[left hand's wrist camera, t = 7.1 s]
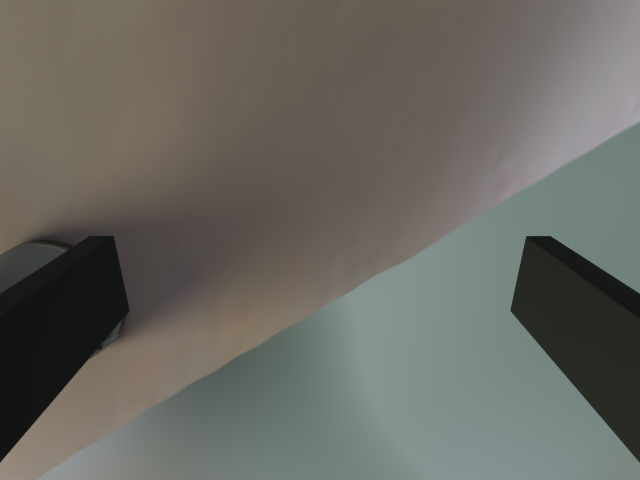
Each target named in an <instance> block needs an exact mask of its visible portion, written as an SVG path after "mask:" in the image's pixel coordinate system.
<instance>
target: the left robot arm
mask: <svg viewBox="0 0 640 480" xmlns="http://www.w3.org/2000/svg"><path fill="white" fill-rule="evenodd" d="M129 311H130V310H129V306H128V301H127V296H126V292H125V287H124V282H123V278H122V273H121V268H120V264H119V259H118V254H117V250H116V245H115V240H114V236H89V237H88V238H86V239H84V240H83V241H81V242H80V243H78V244H77V245H75V246H74V247H72V246H70V245H67V244H63V243H59V242H52V241H34V242H28V243H24V244H21V245H19V246H17V247H15V248H13V249H11V250H9V251H7V252H5V253H3V254H2V255H0V462H1V461H2V460H3V459H4V457H5V456H6V455H7V454H8V453H9V452H10V450H11V449H12V448H13V447H14V446H15V445H16V443H17V442H18V441H19V440H20V439H21V437H22V436H23V435H24V434H25V433H26V432H27V430H28V429H29V428H30V427H31V426H32V425H33V423H34V422H35V421H36V420H37V419H38V418H39V416H40V415H41V414H42V413H43V412H44V411H45V409H46V408H47V407H48V406H49V405H50V404H51V402H52V401H53V400H54V399H55V398H56V396H57V395H58V394H59V393H60V392H61V391H62V389H63V388H64V387H65V386H66V385H67V384H68V382H69V381H70V380H71V379H72V378H73V377H74V375H75V374H76V373H77V372H78V371H79V370H80V368H81V367H82V366H83V365H84V364H85V362H86V361H87V360H88V359H90V358H92V357H93V356H95V355H97V354H98V353H100V352H101V351H102V350H103V349H105V348H106V347H107V346H108V345H109V344H110V343H111V342H112V341H114V340H115V339H116V337H117V336H118V335H119V334H120V333H119V331H120V329H121V327H122V325H123V322H124V318H125V316H126V314H127V313H128V312H129ZM511 312H512V313H513V314H514V316H515V317H516V318H517V319H518V320H519V321H520V323H521V324H522V325H523V326H524V327H525V328H526V330H527V331H528V332H529V333H530V334H531V336H532V337H533V338H534V339H535V340H536V341H537V343H538V344H539V345H540V346H541V347H542V348H543V350H544V351H545V352H546V353H547V354H548V355H549V357H550V358H551V359H552V360H553V361H554V362H555V364H556V365H557V366H558V367H559V368H560V370H561V371H562V372H563V373H564V374H565V375H566V377H567V378H568V379H569V380H570V381H571V382H572V384H573V385H574V386H575V387H576V388H577V389H578V391H579V392H580V393H581V394H582V395H583V396H584V398H585V399H586V400H587V401H588V402H589V404H590V405H591V406H592V407H593V408H594V409H595V410H596V412H597V413H598V414H599V415H600V416H601V417H602V419H603V420H604V421H605V422H606V423H607V425H608V426H609V427H610V428H611V429H612V430H613V432H614V433H615V434H616V435H617V436H618V437H619V439H620V440H621V441H622V442H623V443H624V445H625V446H626V447H627V448H628V449H629V450H630V452H631V453H632V454H633V455H634V456H635V457H636V459H637V460H638V461H639V462H640V294H639V293H638V292H636V291H635V290H633V289H632V288H630V287H628V286H627V285H625V284H624V283H622V282H621V281H619V280H618V279H616V278H614V277H613V276H611V275H610V274H608V273H607V272H605V271H604V270H602V269H601V268H599V267H597V266H596V265H594V264H593V263H591V262H590V261H588V260H587V259H585V258H583V257H582V256H580V255H579V254H577V253H576V252H574V251H573V250H571V249H570V248H568V247H566V246H565V245H563V244H562V243H560V242H559V241H557V240H556V239H554V238H552V237H551V236H526V240H525V245H524V250H523V254H522V259H521V264H520V268H519V273H518V278H517V282H516V287H515V292H514V296H513V301H512V306H511ZM118 333H119V334H118Z"/></svg>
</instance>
